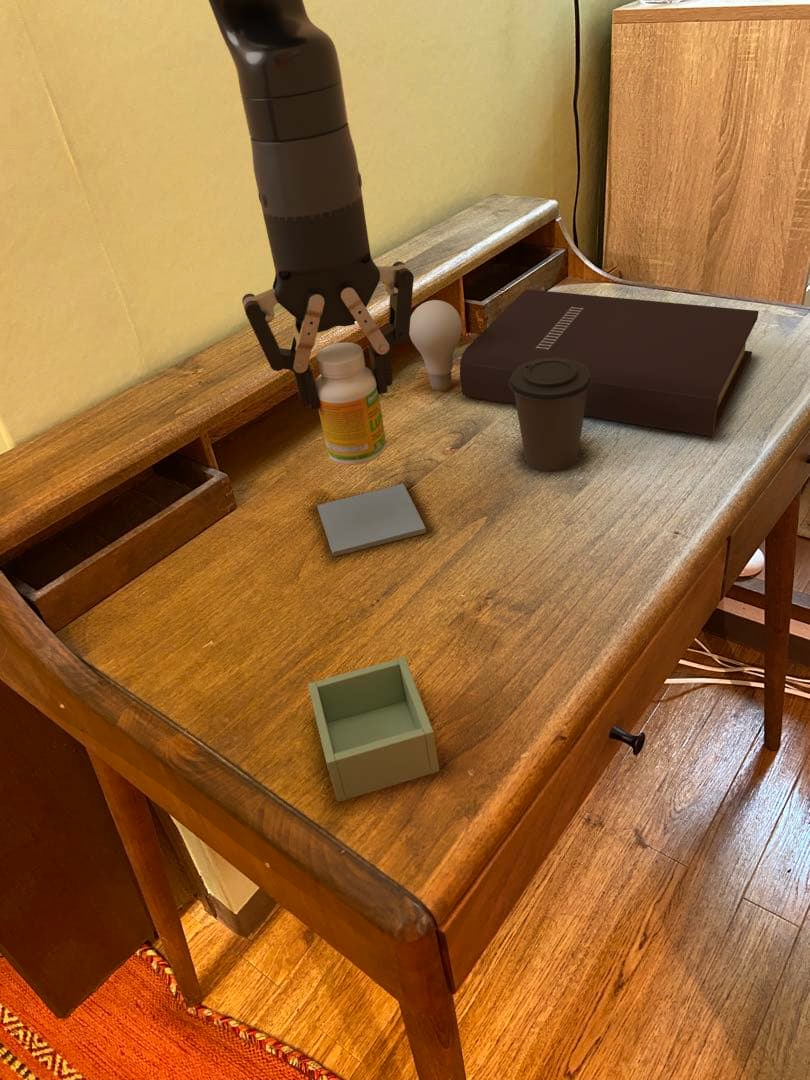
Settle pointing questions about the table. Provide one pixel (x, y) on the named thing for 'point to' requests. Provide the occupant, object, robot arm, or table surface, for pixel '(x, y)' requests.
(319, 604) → the table surface
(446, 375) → the lightbulb
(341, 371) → the supplement bottle
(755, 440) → the table surface
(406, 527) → the mat
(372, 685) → the caddy
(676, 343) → the book
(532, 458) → the coffee cup
